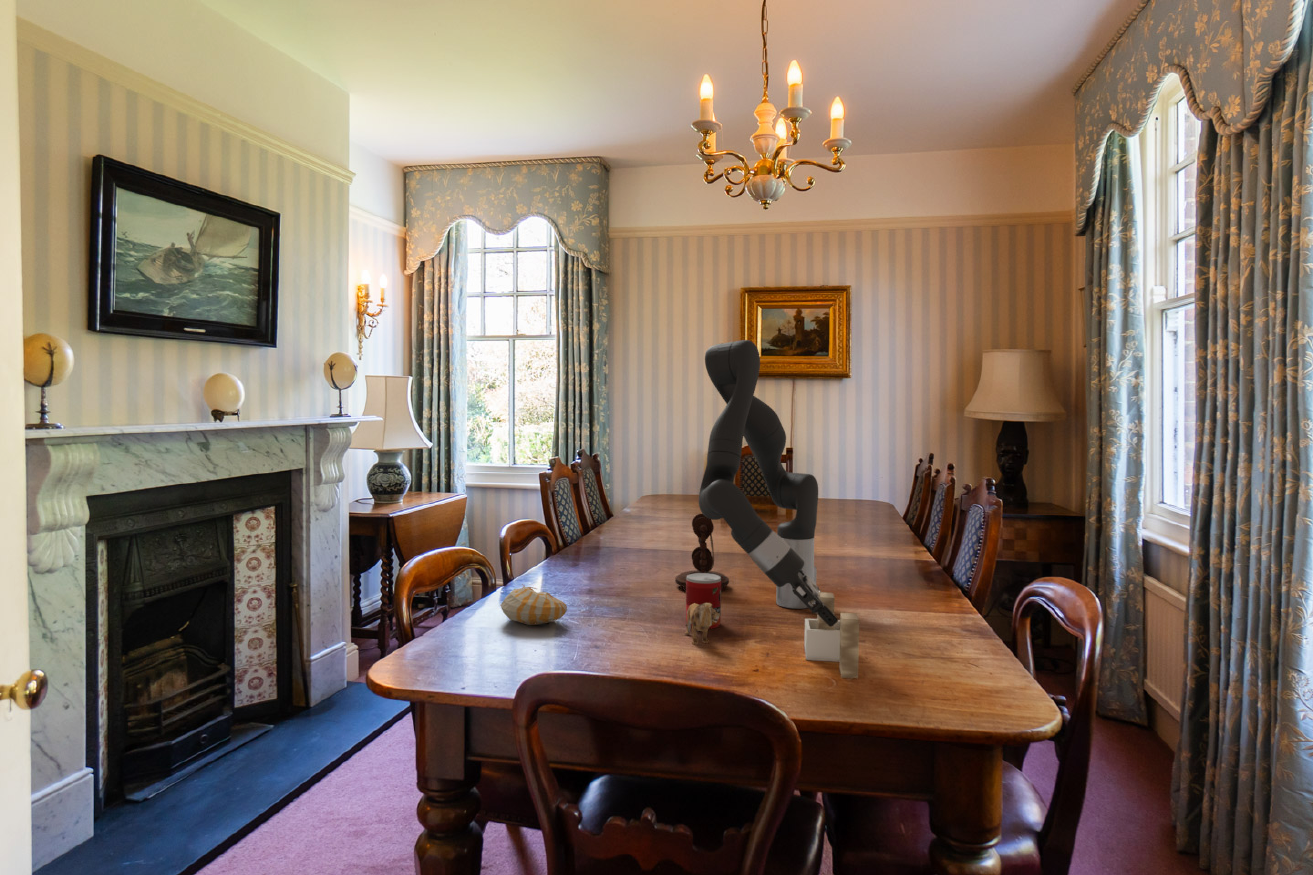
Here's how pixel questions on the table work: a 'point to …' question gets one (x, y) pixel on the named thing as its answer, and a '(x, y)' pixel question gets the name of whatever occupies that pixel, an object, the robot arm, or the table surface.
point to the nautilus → (532, 606)
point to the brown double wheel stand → (702, 552)
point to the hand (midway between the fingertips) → (833, 617)
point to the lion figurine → (700, 620)
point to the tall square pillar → (829, 603)
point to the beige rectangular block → (849, 645)
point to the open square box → (821, 642)
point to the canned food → (704, 592)
